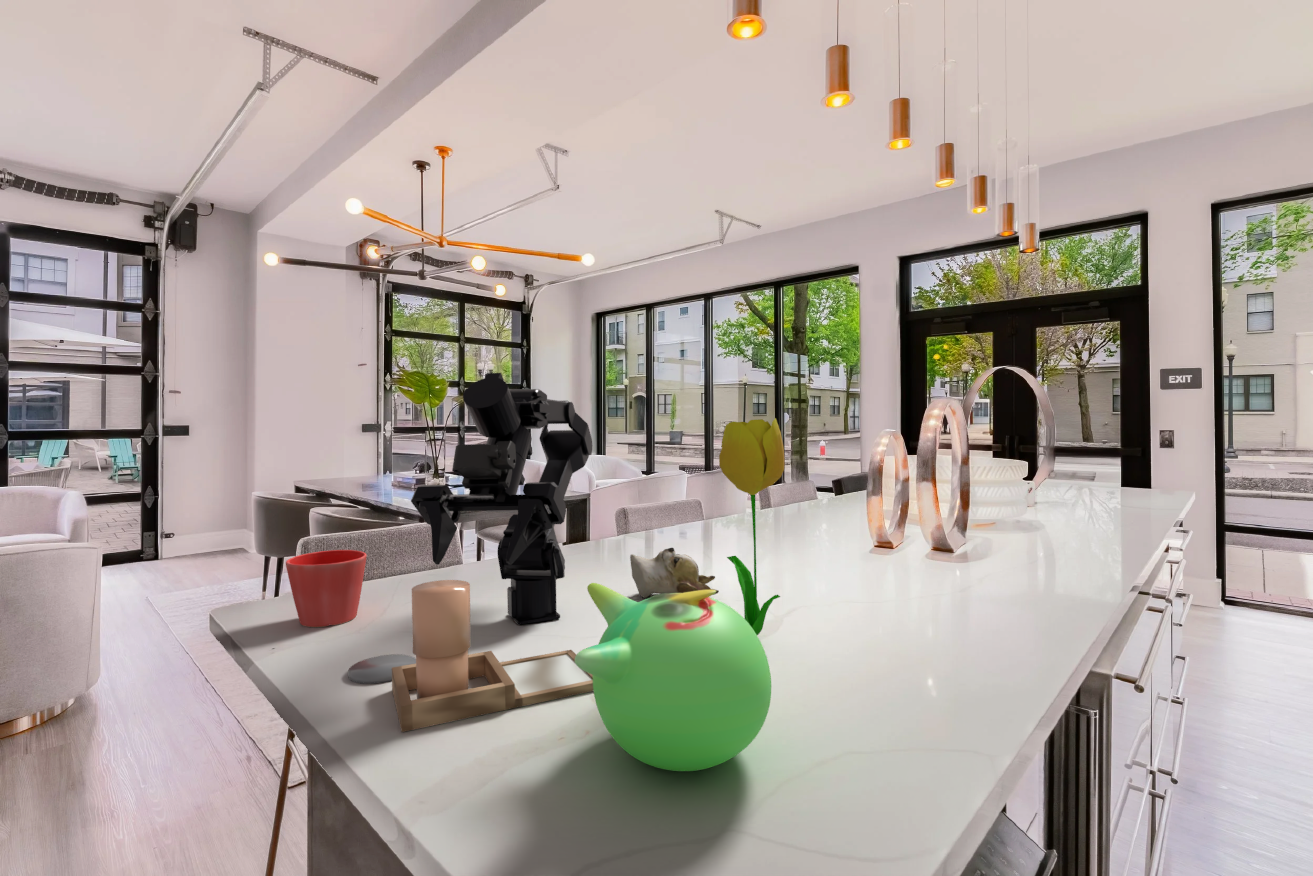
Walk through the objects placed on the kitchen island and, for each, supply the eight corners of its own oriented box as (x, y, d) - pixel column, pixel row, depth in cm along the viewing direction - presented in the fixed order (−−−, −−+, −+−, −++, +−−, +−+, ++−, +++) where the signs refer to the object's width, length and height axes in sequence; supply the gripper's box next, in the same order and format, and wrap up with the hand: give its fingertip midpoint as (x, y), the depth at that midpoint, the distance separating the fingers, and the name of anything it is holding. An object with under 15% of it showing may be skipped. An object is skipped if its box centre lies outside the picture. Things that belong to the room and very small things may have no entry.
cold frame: (571, 656, 80) (570, 637, 80) (604, 688, 70) (603, 666, 70) (392, 689, 71) (391, 667, 71) (401, 732, 61) (401, 706, 61)
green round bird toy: (797, 806, 49) (796, 616, 48) (575, 819, 47) (573, 624, 47) (745, 703, 66) (744, 564, 66) (584, 710, 65) (582, 568, 65)
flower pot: (336, 633, 90) (334, 565, 90) (270, 629, 93) (268, 562, 92) (382, 611, 101) (381, 550, 101) (322, 608, 103) (320, 548, 103)
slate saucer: (413, 655, 81) (413, 650, 81) (420, 675, 75) (420, 670, 75) (347, 665, 78) (347, 661, 78) (348, 688, 71) (348, 683, 71)
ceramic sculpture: (632, 539, 113) (716, 544, 113) (630, 587, 113) (714, 592, 113) (628, 552, 103) (720, 557, 102) (625, 605, 103) (718, 610, 102)
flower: (792, 636, 87) (791, 417, 86) (778, 656, 80) (776, 417, 79) (732, 628, 91) (730, 418, 90) (713, 646, 83) (711, 418, 83)
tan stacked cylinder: (466, 688, 71) (464, 577, 71) (476, 709, 66) (474, 589, 65) (410, 699, 68) (408, 584, 68) (417, 721, 63) (415, 596, 63)
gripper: (413, 422, 81) (367, 525, 71) (554, 416, 78) (526, 523, 67) (447, 476, 89) (410, 575, 79) (575, 473, 86) (554, 575, 76)
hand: (471, 562), depth 75 cm, fingers open, 9 cm apart
